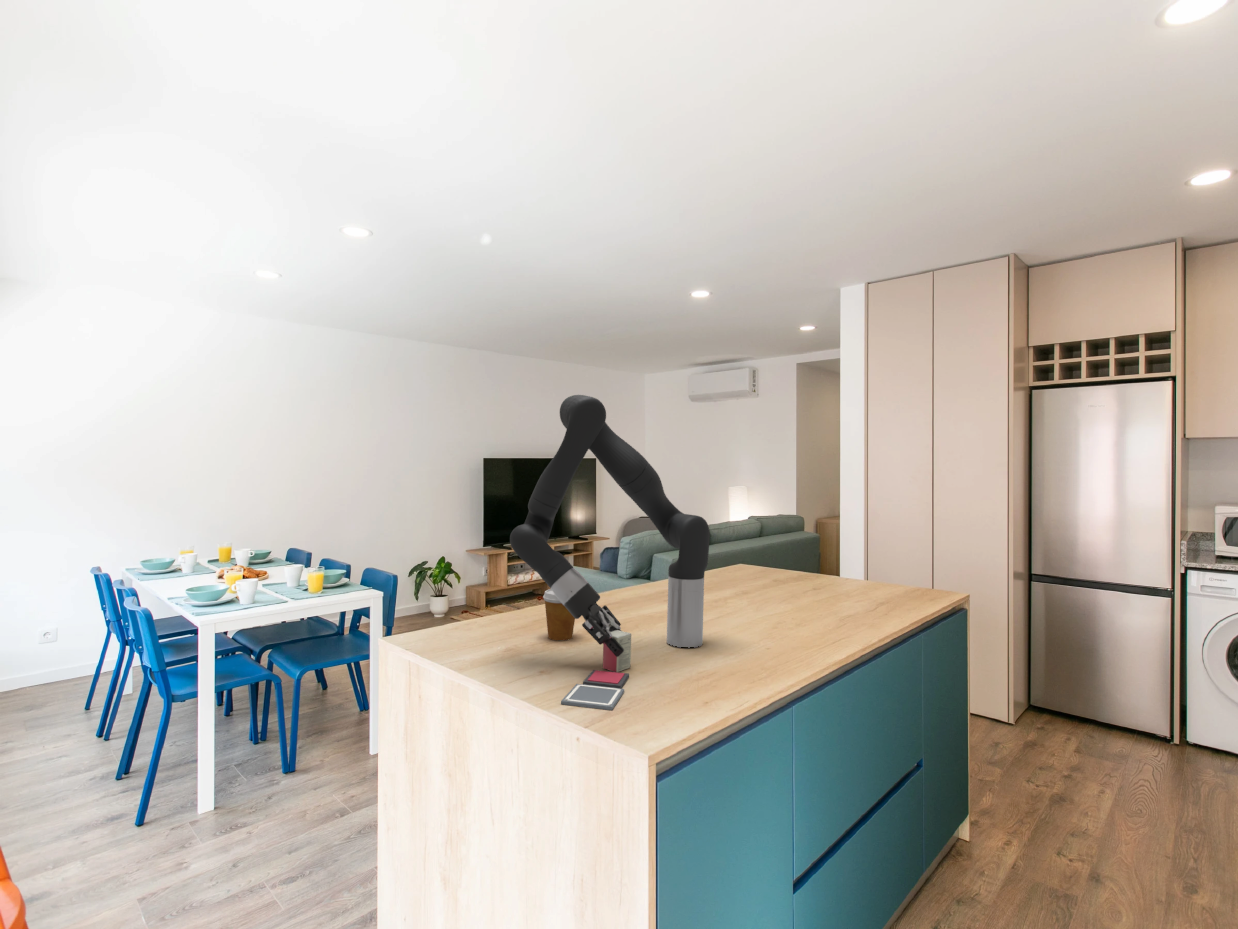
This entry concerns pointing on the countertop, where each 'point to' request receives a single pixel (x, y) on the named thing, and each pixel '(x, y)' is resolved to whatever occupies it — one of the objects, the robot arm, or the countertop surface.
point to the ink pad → (606, 679)
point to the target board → (593, 696)
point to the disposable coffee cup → (557, 618)
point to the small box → (624, 659)
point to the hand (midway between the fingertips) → (624, 649)
